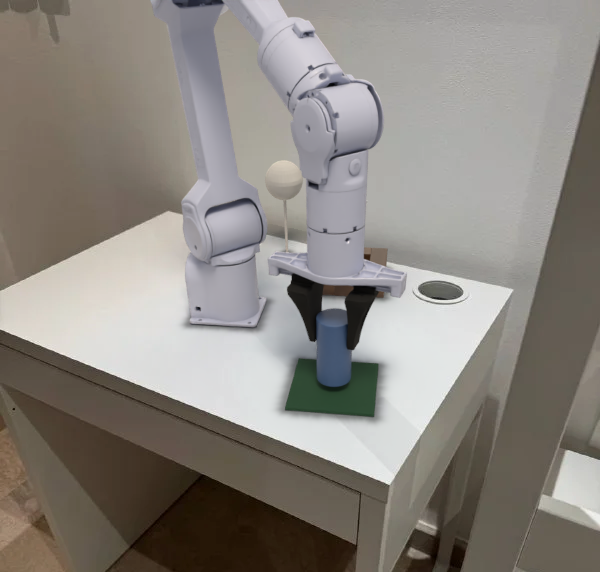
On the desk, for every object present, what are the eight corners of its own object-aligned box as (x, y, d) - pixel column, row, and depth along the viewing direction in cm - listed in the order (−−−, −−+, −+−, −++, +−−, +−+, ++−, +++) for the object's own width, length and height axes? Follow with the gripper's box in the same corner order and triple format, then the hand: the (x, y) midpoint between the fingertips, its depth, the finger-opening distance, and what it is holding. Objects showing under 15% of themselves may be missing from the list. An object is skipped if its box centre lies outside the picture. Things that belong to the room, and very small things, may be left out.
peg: (311, 382, 68) (310, 322, 63) (324, 364, 71) (324, 305, 66) (343, 390, 67) (345, 329, 62) (355, 371, 70) (358, 311, 65)
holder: (317, 294, 88) (317, 273, 86) (325, 266, 96) (325, 245, 93) (383, 298, 87) (385, 276, 84) (386, 268, 94) (387, 248, 92)
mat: (285, 410, 67) (284, 407, 66) (298, 360, 74) (298, 358, 74) (374, 417, 65) (374, 414, 65) (378, 365, 73) (378, 363, 73)
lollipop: (311, 255, 99) (309, 162, 90) (280, 263, 97) (275, 169, 88) (293, 242, 103) (290, 153, 94) (263, 250, 101) (257, 159, 92)
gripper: (419, 218, 58) (407, 336, 66) (285, 200, 63) (290, 313, 71) (399, 245, 53) (389, 369, 61) (255, 224, 58) (264, 342, 66)
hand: (334, 341), depth 66 cm, fingers closed on peg, 4 cm apart
